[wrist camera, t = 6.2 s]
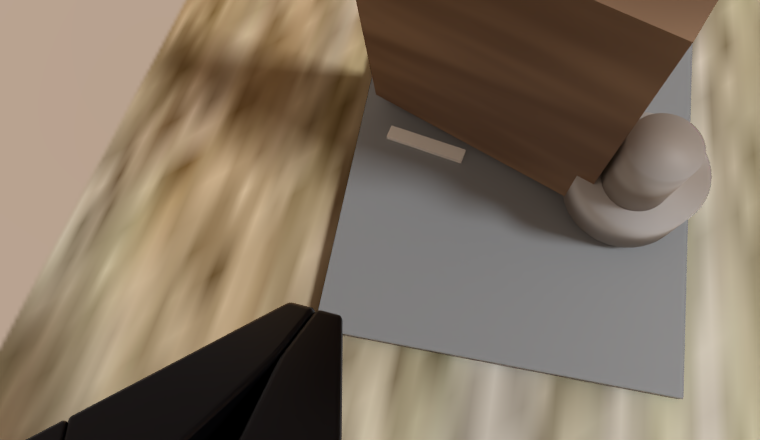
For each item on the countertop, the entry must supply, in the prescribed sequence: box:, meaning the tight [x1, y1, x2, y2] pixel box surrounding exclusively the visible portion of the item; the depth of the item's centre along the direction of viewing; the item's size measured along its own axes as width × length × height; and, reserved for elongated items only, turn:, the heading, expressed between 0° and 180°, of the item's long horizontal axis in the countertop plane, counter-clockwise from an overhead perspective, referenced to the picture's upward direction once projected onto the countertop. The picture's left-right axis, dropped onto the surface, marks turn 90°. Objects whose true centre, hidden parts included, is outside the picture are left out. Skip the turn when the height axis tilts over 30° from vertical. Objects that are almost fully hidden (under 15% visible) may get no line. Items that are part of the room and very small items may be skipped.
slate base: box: [318, 44, 692, 399], centre depth 20 cm, size 14×12×1 cm
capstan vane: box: [356, 0, 718, 248], centre depth 15 cm, size 4×12×9 cm, turn 56°
